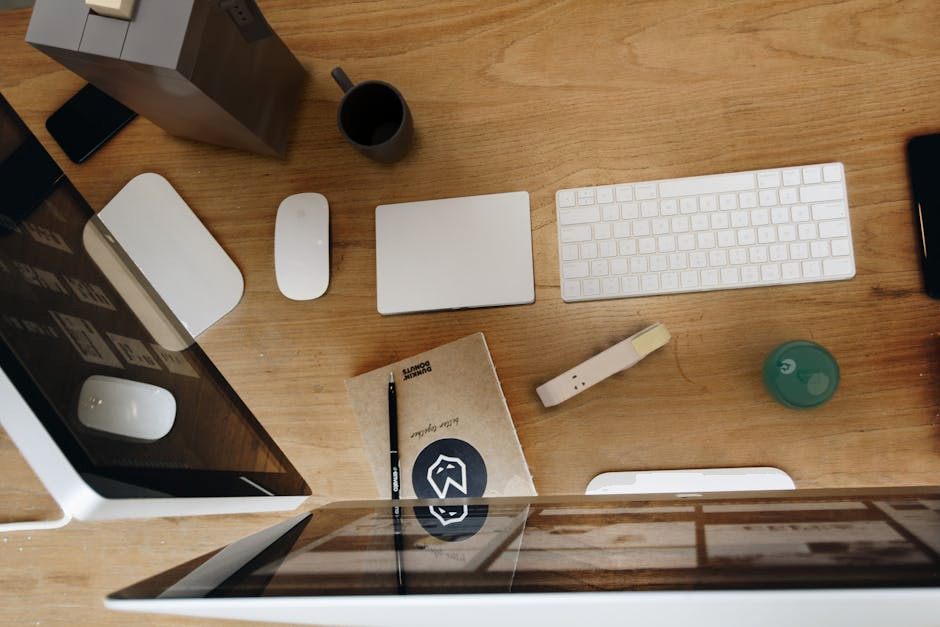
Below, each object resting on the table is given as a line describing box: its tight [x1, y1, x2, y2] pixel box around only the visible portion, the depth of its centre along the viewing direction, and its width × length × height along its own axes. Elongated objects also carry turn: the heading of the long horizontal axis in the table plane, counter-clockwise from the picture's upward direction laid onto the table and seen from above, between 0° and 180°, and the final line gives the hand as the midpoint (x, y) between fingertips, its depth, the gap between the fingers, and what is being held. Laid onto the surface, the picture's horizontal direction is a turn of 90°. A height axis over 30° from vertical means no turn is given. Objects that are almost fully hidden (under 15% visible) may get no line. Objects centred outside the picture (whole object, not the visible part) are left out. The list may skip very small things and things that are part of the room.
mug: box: [330, 66, 415, 164], centre depth 84 cm, size 8×12×10 cm
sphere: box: [760, 338, 842, 413], centre depth 76 cm, size 8×8×8 cm
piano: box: [24, 0, 307, 159], centre depth 79 cm, size 16×12×26 cm
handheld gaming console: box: [535, 321, 672, 408], centre depth 79 cm, size 11×3×15 cm
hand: (254, 13), depth 70 cm, fingers open, 5 cm apart
